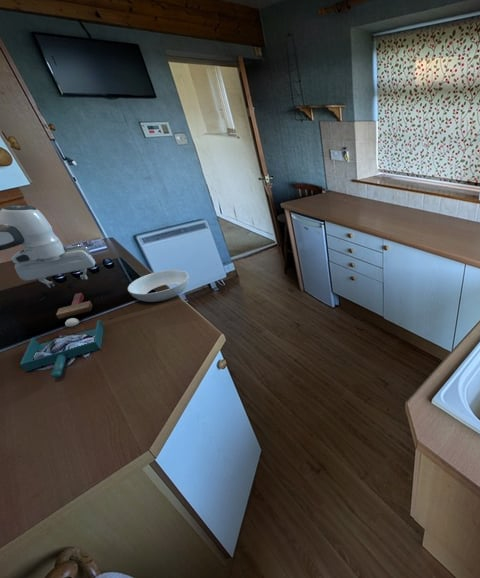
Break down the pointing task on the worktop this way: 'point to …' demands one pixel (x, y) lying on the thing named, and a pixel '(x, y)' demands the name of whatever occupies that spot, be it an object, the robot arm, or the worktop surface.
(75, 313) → the brush
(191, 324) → the worktop surface
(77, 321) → the paper wad
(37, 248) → the robot arm
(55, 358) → the dustpan
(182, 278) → the serving bowl
